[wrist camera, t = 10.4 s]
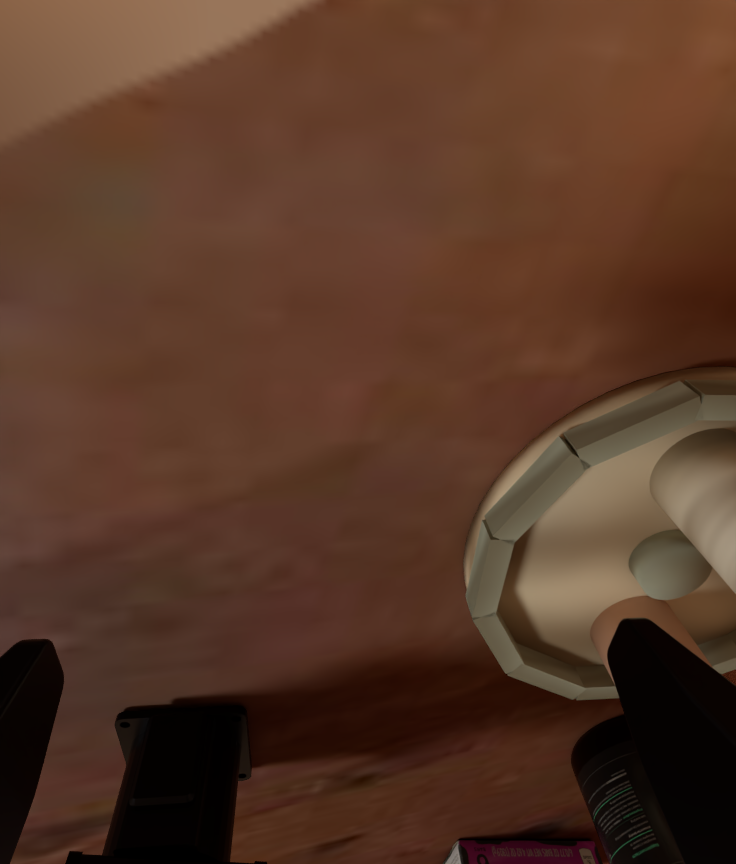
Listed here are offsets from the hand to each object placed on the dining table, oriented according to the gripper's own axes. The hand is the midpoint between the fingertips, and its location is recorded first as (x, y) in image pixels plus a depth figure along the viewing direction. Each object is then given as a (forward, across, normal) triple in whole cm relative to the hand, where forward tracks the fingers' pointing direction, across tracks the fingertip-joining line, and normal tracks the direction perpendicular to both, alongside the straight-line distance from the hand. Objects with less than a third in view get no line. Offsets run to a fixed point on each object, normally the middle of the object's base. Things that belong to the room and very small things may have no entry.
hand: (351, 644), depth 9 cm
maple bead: (+11, -15, +4) cm, 19 cm away
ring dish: (+12, -15, +9) cm, 21 cm away
